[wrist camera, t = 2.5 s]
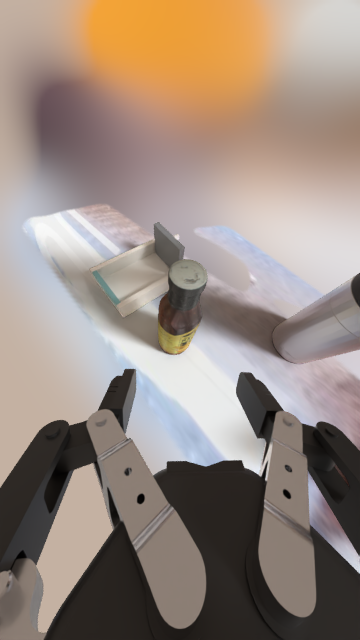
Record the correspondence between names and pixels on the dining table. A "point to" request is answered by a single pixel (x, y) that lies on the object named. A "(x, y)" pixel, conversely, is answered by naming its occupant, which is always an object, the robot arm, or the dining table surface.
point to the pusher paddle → (167, 245)
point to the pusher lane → (133, 278)
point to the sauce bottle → (181, 306)
